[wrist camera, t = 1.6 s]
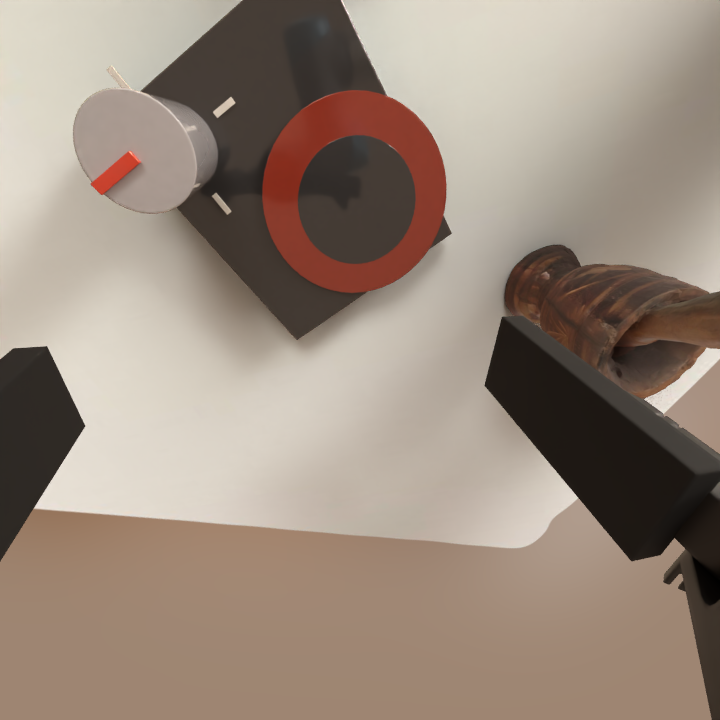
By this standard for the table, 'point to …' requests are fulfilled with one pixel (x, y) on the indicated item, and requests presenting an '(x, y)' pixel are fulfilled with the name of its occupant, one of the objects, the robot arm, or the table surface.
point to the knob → (143, 149)
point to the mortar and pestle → (616, 316)
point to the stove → (264, 131)
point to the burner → (354, 191)
